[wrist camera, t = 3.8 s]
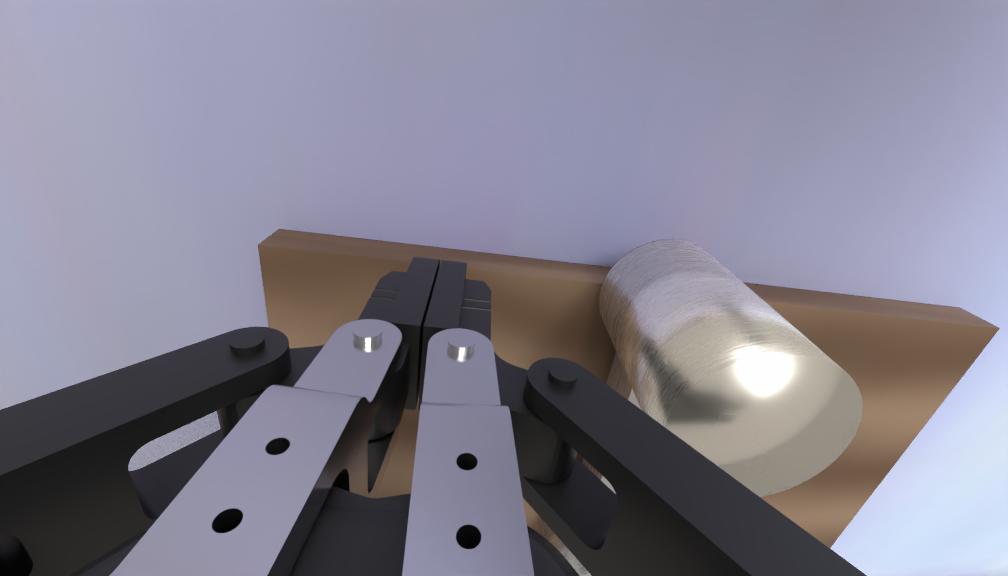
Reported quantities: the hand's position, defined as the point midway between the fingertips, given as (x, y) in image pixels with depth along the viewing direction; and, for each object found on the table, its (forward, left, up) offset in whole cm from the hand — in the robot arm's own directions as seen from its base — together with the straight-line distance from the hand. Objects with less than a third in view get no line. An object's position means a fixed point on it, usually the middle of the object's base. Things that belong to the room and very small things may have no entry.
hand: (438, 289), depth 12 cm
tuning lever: (+6, +7, -2) cm, 9 cm away
